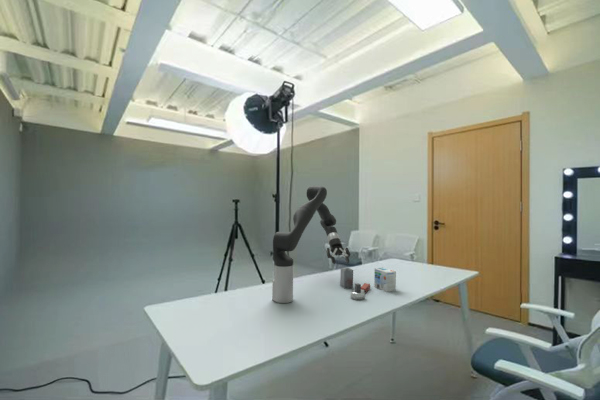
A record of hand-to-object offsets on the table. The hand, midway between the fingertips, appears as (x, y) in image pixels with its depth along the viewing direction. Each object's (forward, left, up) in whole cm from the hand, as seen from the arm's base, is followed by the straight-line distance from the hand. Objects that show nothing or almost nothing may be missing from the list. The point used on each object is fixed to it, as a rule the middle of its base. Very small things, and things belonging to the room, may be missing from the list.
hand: (341, 263), depth 170 cm
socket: (+5, -6, -12) cm, 14 cm away
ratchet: (+16, -14, -12) cm, 24 cm away
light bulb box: (+25, +1, -12) cm, 28 cm away
